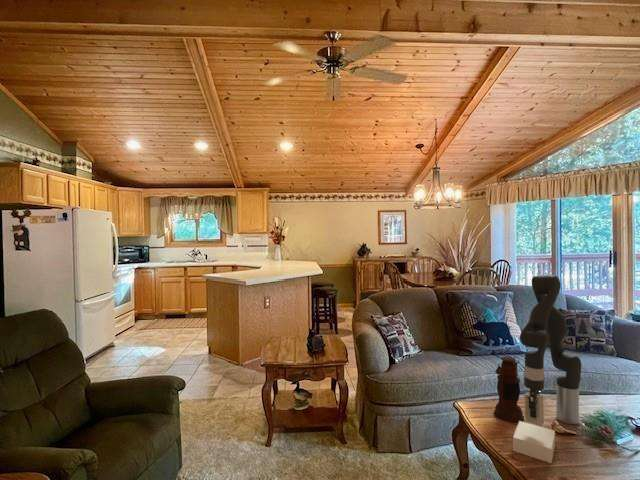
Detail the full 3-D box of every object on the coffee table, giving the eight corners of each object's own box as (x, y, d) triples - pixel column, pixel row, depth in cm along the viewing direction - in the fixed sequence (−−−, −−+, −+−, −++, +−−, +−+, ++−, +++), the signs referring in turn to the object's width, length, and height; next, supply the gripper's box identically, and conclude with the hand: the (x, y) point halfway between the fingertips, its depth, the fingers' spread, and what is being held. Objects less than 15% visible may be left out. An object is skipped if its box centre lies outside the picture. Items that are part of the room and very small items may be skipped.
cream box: (519, 433, 167) (519, 420, 167) (555, 444, 159) (555, 430, 159) (513, 450, 155) (512, 437, 155) (551, 463, 146) (551, 448, 146)
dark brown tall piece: (513, 427, 172) (512, 366, 171) (486, 415, 184) (485, 357, 183) (531, 416, 182) (531, 358, 181) (504, 405, 193) (504, 350, 192)
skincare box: (544, 423, 155) (544, 395, 155) (539, 426, 153) (539, 398, 152) (528, 417, 160) (528, 390, 160) (524, 420, 158) (524, 393, 157)
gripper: (526, 368, 164) (526, 405, 164) (521, 379, 152) (521, 419, 153) (546, 372, 159) (546, 410, 160) (542, 384, 148) (542, 424, 148)
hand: (534, 414), depth 156 cm, fingers closed on skincare box, 5 cm apart
